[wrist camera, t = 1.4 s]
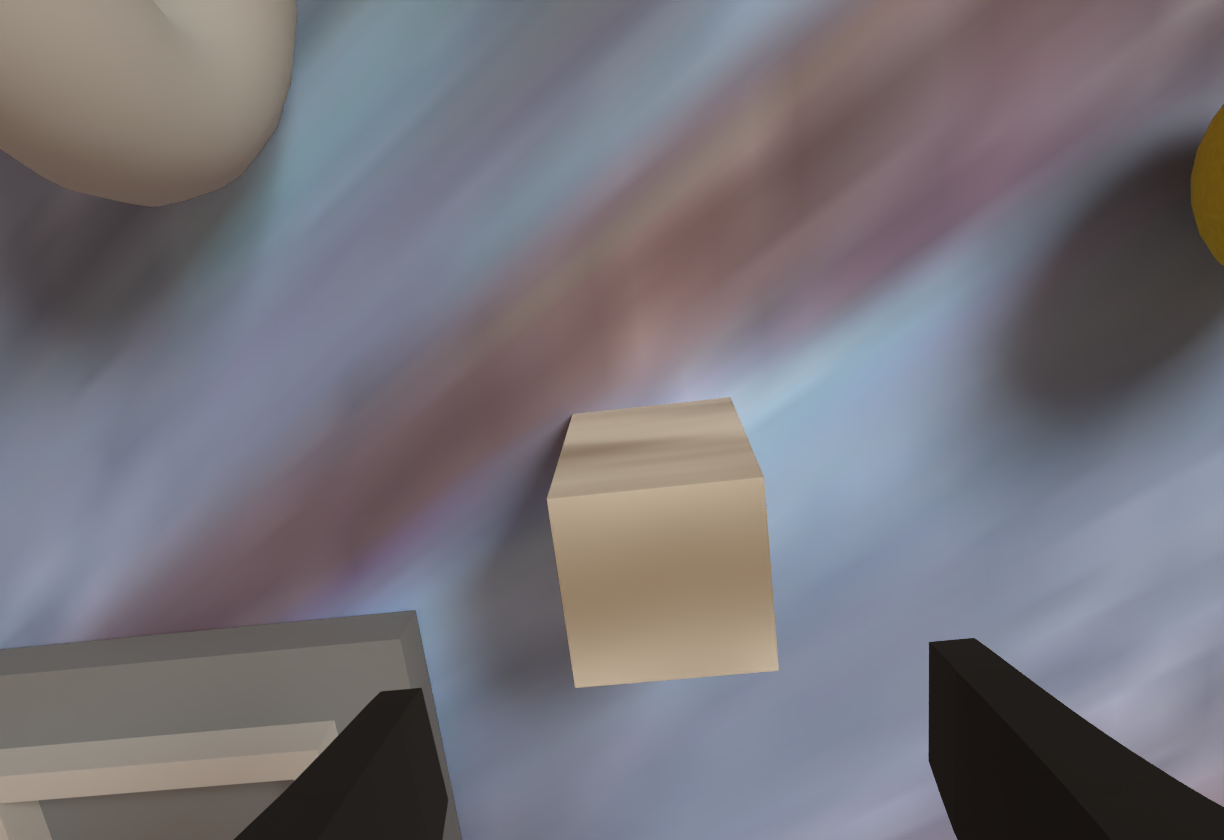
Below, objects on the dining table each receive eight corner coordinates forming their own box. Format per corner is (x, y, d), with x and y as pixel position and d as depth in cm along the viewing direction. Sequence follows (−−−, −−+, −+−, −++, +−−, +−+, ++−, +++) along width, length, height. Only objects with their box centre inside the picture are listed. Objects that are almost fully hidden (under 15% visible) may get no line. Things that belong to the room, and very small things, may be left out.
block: (742, 543, 22) (778, 670, 16) (592, 557, 22) (575, 688, 16) (730, 397, 21) (763, 477, 15) (572, 414, 21) (546, 499, 15)
